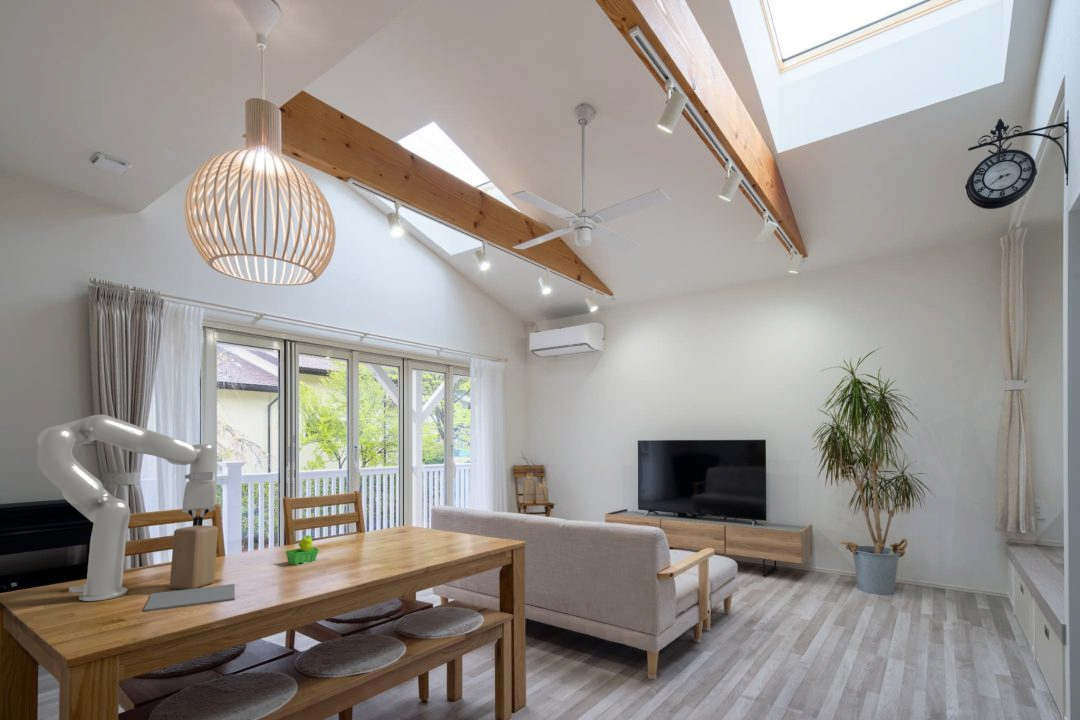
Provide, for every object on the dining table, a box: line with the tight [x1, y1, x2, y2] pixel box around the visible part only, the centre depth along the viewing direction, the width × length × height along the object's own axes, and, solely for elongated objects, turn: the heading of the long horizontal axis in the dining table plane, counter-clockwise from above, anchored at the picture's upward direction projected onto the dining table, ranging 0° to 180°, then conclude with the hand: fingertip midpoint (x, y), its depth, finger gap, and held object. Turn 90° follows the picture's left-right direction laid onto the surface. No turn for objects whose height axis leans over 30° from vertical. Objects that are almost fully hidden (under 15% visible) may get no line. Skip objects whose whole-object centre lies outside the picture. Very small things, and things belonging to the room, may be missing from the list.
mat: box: [143, 583, 236, 612], centre depth 183 cm, size 24×20×1 cm
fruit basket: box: [285, 534, 320, 566], centre depth 233 cm, size 11×9×11 cm
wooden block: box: [169, 525, 219, 590], centre depth 198 cm, size 10×10×20 cm
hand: (197, 527), depth 207 cm, fingers closed
